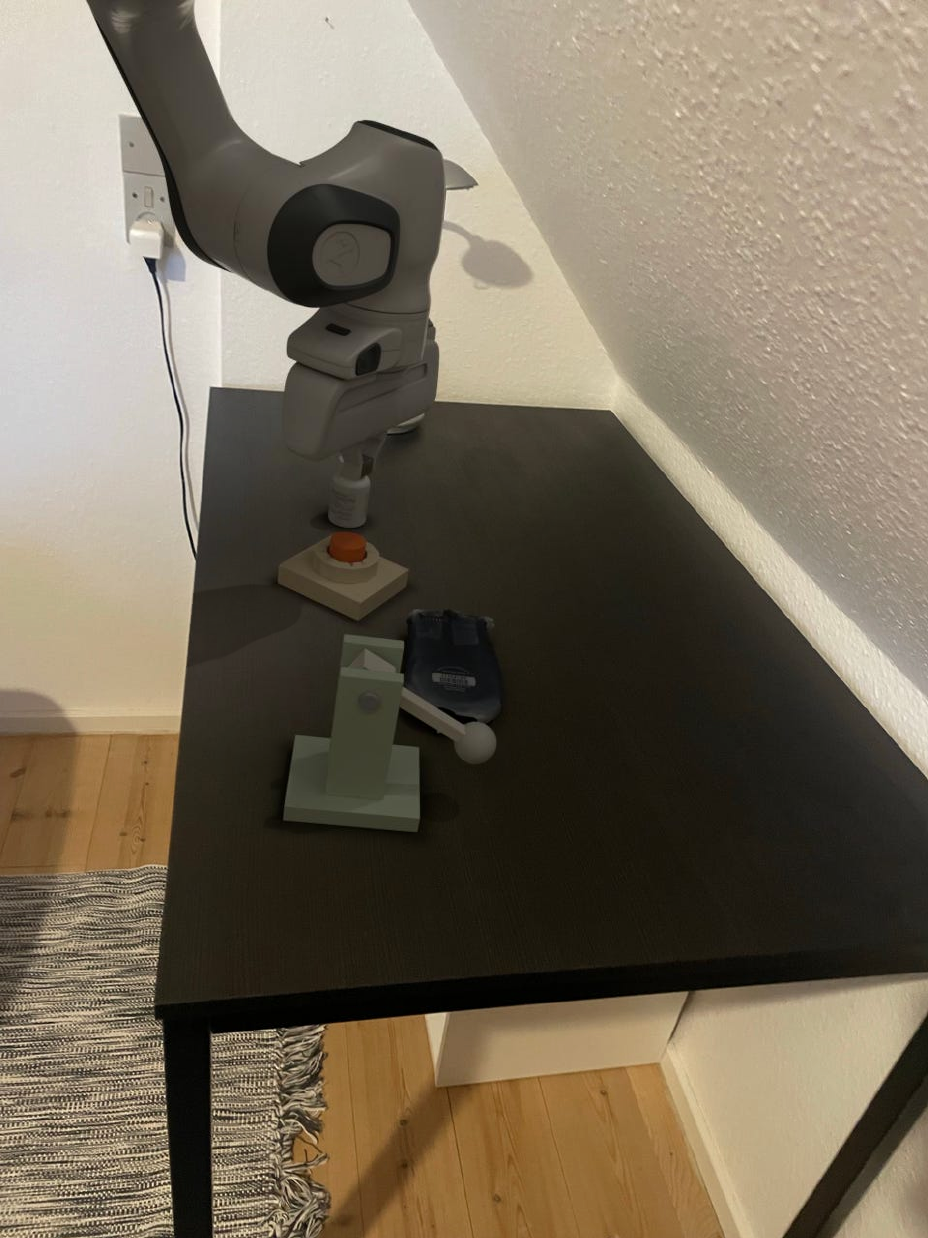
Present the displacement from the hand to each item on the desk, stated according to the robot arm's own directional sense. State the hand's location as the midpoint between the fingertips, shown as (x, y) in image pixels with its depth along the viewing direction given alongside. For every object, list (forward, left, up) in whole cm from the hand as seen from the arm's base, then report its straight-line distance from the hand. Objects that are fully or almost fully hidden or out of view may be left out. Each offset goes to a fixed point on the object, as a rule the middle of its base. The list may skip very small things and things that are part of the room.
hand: (358, 475), depth 90 cm
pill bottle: (-9, +13, -14) cm, 21 cm away
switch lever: (+20, -21, -6) cm, 30 cm away
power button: (-1, +1, -10) cm, 10 cm away
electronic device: (+16, -6, -14) cm, 22 cm away
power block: (-1, +1, -13) cm, 13 cm away
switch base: (+17, -23, -13) cm, 31 cm away
